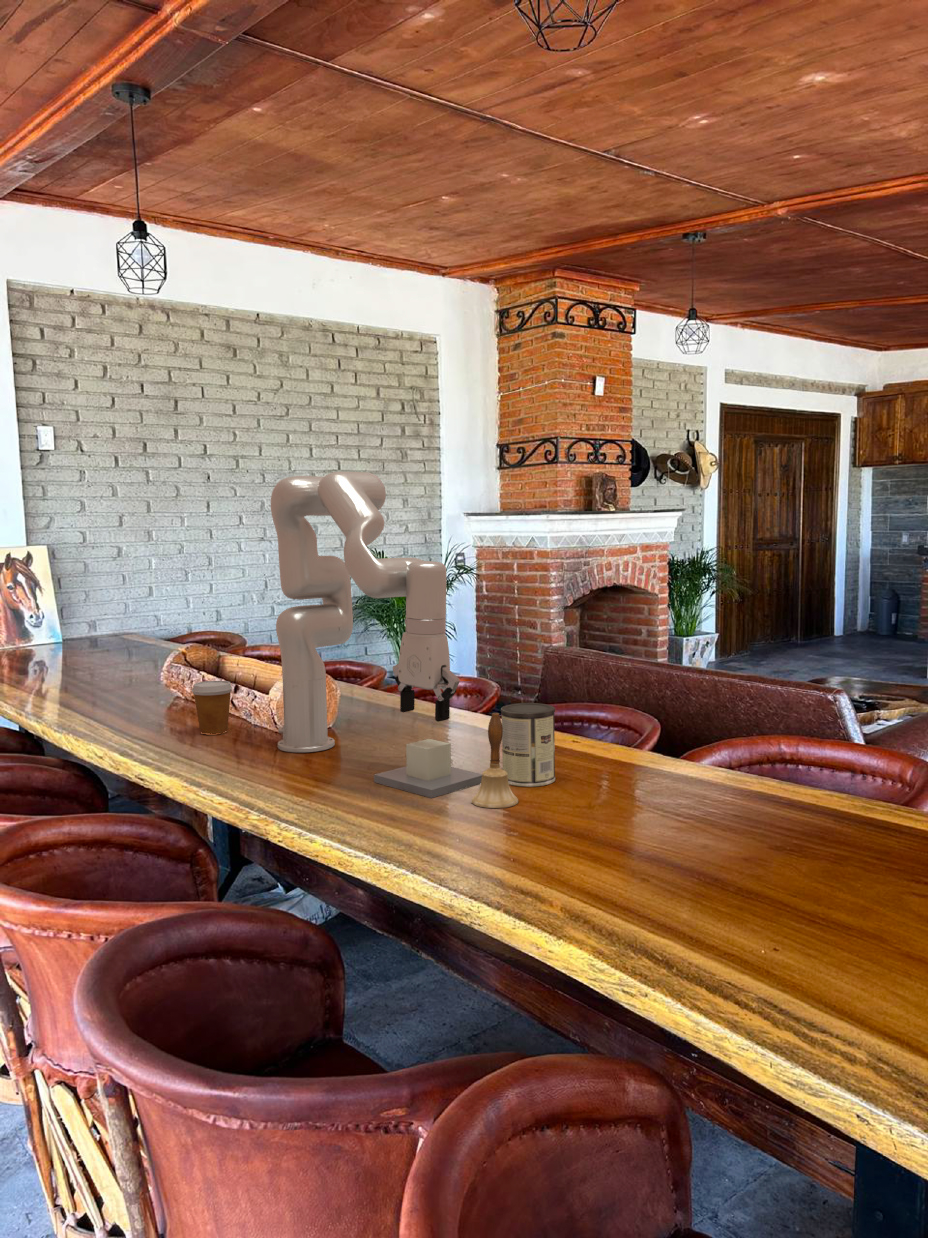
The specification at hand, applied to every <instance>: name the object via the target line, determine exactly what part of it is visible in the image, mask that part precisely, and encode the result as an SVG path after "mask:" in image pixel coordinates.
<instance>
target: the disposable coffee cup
mask: <svg viewBox="0 0 928 1238" xmlns="http://www.w3.org/2000/svg"><path fill="white" fill-rule="evenodd" d="M231 683H232V682H231V681H228V680H207V681H199V682H195V683H193V686H192V689H191V692H192V694H193V698H194V703H195V708H196V715H197V720H198V726H199V732H200V731H201V732H202V733H210V734H211V733H212V734H216V733H223V732H225V731H227V730H228V731H229V729H228V728H229V717H230V708H231V707H230V706H231V694H232V693H231V692H232V690H233V686H232V684H231ZM228 731H227V732H228Z"/></svg>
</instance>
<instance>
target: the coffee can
mask: <svg viewBox="0 0 928 1238" xmlns="http://www.w3.org/2000/svg"><path fill="white" fill-rule="evenodd" d="M500 712H501V723H502V727H503V735H502V741H501V746H502V747H501V748H502V749H501V750H502V751H501V752H502V770H504V771H506V772H507V775H508V782H509V786H515V787H527V788H528V787H529V788H533V787H543V786H546V785H551V784H552V783H554V782H555V781H556V769H555V768H556V764H555V763H556V761H555V758H556V756H555V755H556V754H555V751H556V750H555V746H556V745H555V744H556V743H555V742H556V741H555V735H556V734H555V712H556V707H554V706H553V705H550V704H546V703H540V702H539V703H537V702H519V703H511V704H507V705H503V706H501V708H500Z"/></svg>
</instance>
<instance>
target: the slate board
mask: <svg viewBox="0 0 928 1238" xmlns="http://www.w3.org/2000/svg"><path fill="white" fill-rule="evenodd" d="M481 781H482V773H479V772H475V771H470V770H466V769H462V768H459V767H454V766H451V774H450V775H447V776H443V777H439V778H436V779H432V780H429V781H428V780H424V779H420V778H416V777H413V776H409V775H407V765H406V766H402V767H398V768H394V769H390V770H386V771H382V772H378V773H376V774H373V783H375V784H379V785H383V786H385V787H386V786H387V787H389V788H394V789H397V790H401V791H405V792H408V793H411V794H416V795H418V796H422V797H426V798H429V799H433V798H438V797H440V796H444V795H447V794H450V793H454V792H457V791H460V789H461V790H464V789H466V788H470V787H469V786H471V787H474V786H477V785H481V784H480V783H481ZM473 785H474V786H473Z"/></svg>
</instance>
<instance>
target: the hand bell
mask: <svg viewBox="0 0 928 1238" xmlns="http://www.w3.org/2000/svg"><path fill="white" fill-rule="evenodd" d="M487 734H488V735H487V737H488V741H489V745H490V760H489V761H490V763H489V768H487V769H485V770H484V771H482V773H481V774H482V781H481V784H480V785H479V789H478V791H477V793H476V794H475V795H474V796H473V797H472V799H471V804H473V805H474V806H477V807H479V808H487V809H502V808H503V809H505V808H510V807H514V806H516V805H517V804H518V803H519V799H518V797H517V796H516V795H515V793H513V791H512V789H511V787H510V786H511V785H510V784H509V782H508V775H507V772H506V771H504V770H503V768H501V766H500V762H501V760H500V758H501V755H500V754H501V753H500V749H501V745H502V735H503V727H502V718H501V717H500V713H499V712H492V713H491V717H490V720H489V722H488V726H487Z"/></svg>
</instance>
